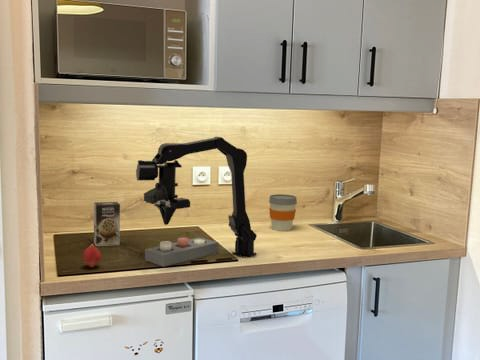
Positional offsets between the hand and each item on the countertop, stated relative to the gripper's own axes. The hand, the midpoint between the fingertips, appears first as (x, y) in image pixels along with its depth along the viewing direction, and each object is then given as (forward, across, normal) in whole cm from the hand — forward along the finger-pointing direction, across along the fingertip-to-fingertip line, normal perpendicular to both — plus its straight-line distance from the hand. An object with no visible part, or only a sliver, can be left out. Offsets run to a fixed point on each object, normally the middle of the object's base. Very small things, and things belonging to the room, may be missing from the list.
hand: (166, 224), depth 180 cm
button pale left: (+9, 0, 0) cm, 9 cm away
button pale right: (+11, 0, +16) cm, 19 cm away
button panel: (+13, 0, +8) cm, 15 cm away
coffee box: (+13, -32, -3) cm, 35 cm away
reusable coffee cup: (+13, -4, +71) cm, 72 cm away
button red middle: (+9, 0, +8) cm, 12 cm away
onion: (+13, -10, -23) cm, 28 cm away
